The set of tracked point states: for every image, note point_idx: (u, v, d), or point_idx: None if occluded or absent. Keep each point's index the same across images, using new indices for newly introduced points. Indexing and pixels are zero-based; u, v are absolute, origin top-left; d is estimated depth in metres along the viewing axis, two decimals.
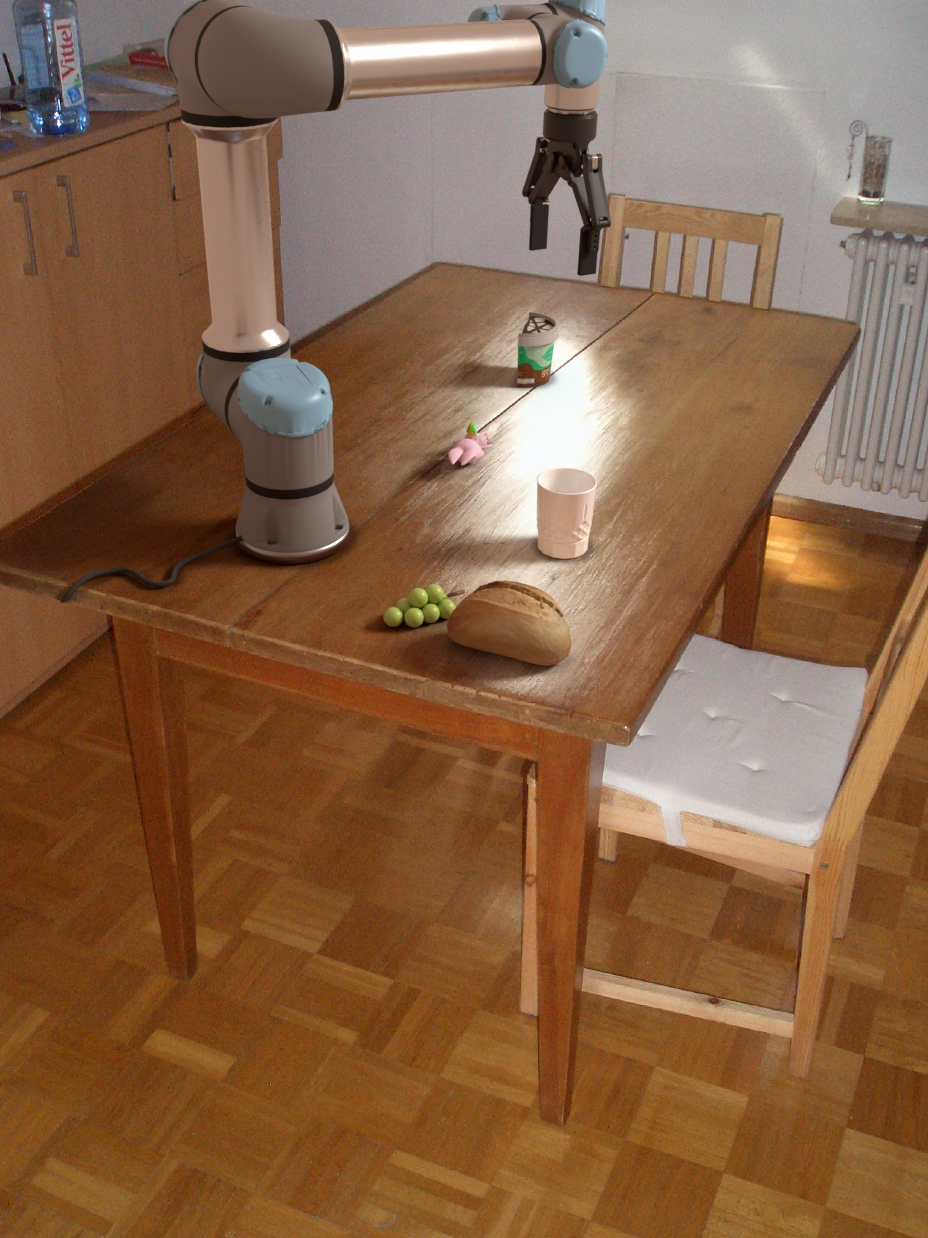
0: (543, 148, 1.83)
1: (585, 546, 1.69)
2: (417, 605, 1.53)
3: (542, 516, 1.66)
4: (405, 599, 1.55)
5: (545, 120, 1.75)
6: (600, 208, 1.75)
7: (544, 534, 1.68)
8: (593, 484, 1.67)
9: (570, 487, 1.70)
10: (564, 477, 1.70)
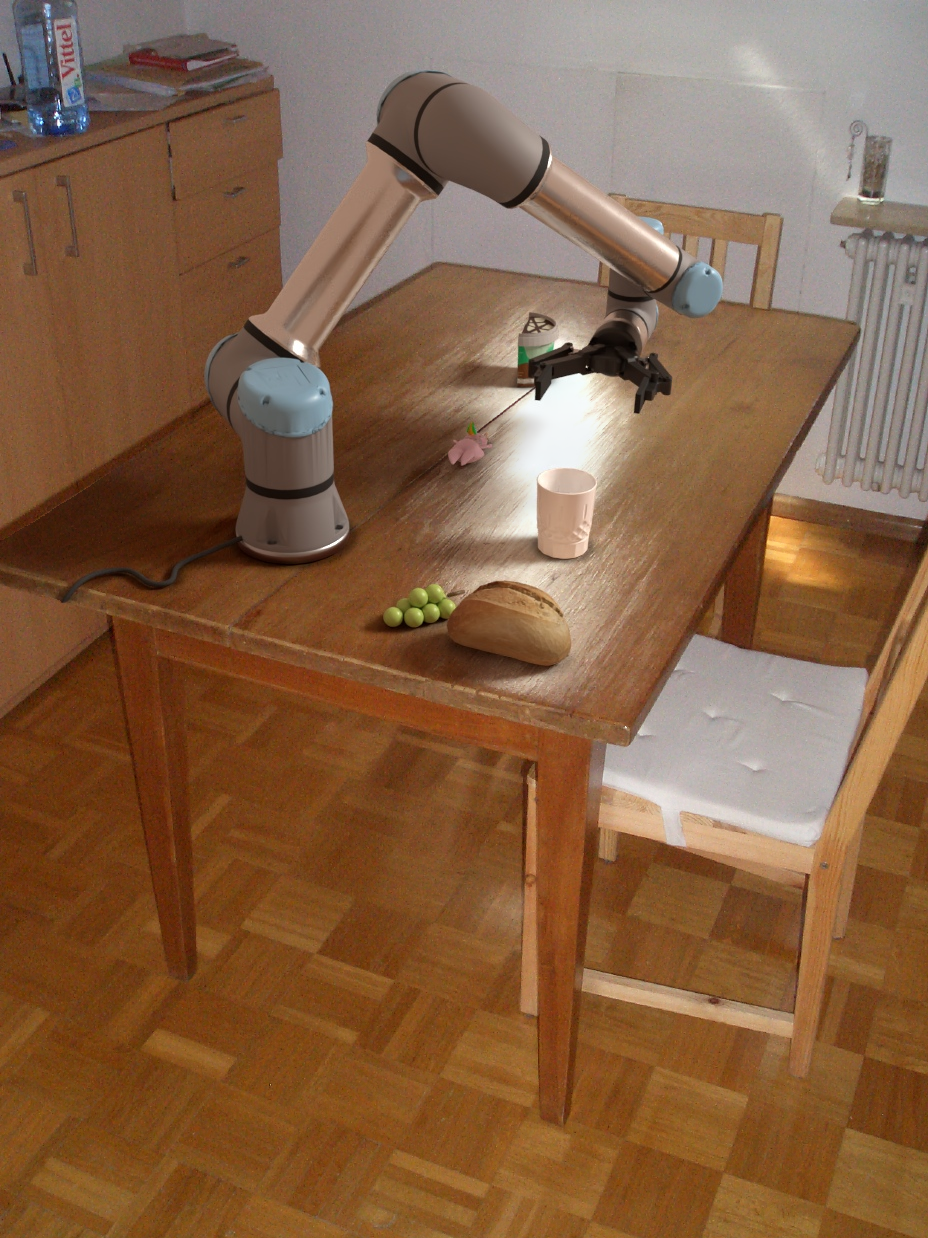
0: (573, 348, 1.83)
1: (585, 546, 1.69)
2: (417, 605, 1.53)
3: (542, 516, 1.66)
4: (405, 599, 1.55)
5: (613, 322, 1.84)
6: None
7: (544, 534, 1.68)
8: (593, 484, 1.67)
9: (570, 487, 1.70)
10: (564, 477, 1.70)
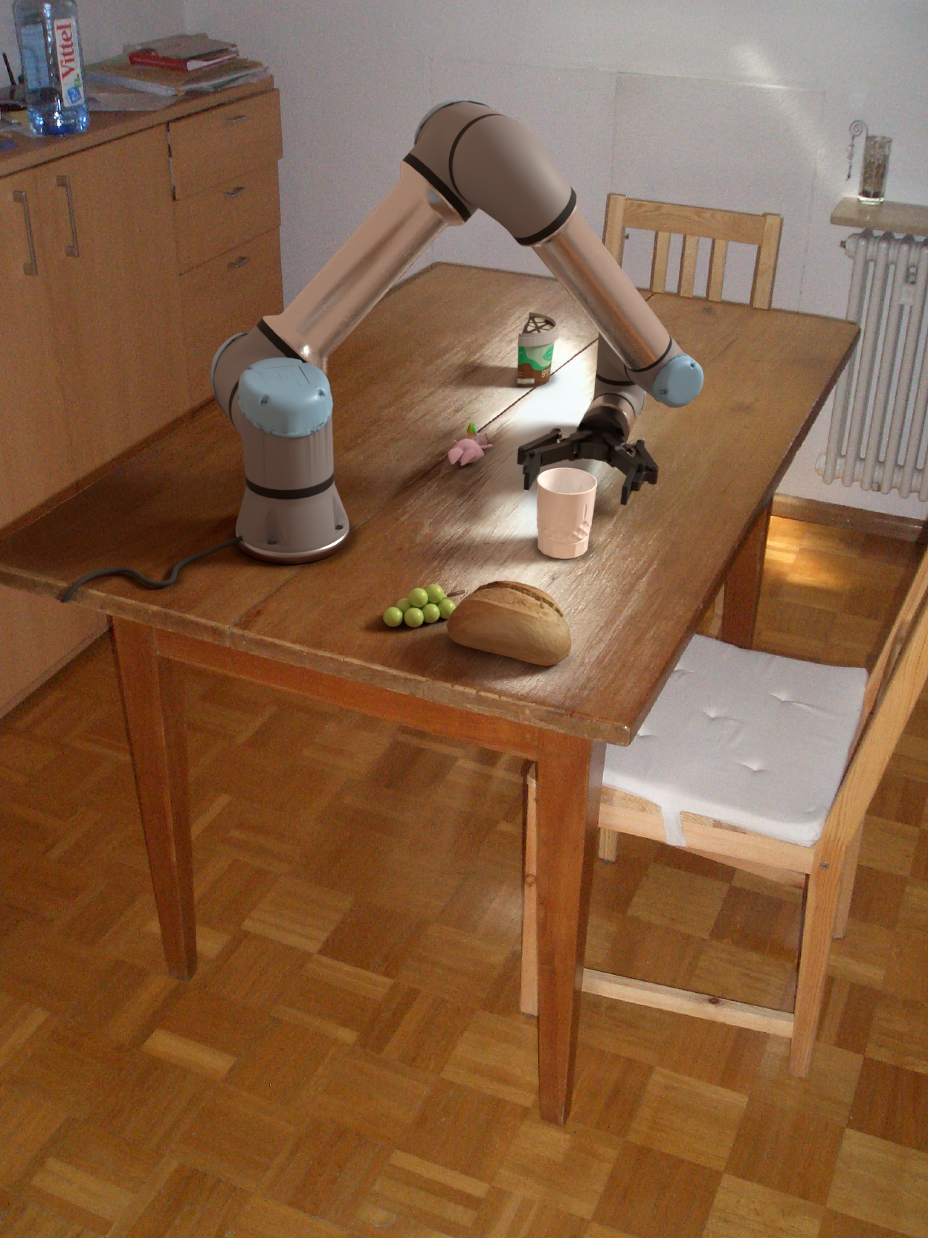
0: None
1: (585, 546, 1.69)
2: (417, 605, 1.53)
3: (542, 516, 1.66)
4: (405, 599, 1.55)
5: (601, 408, 1.87)
6: None
7: (544, 534, 1.68)
8: (593, 484, 1.67)
9: (570, 487, 1.70)
10: (564, 477, 1.70)
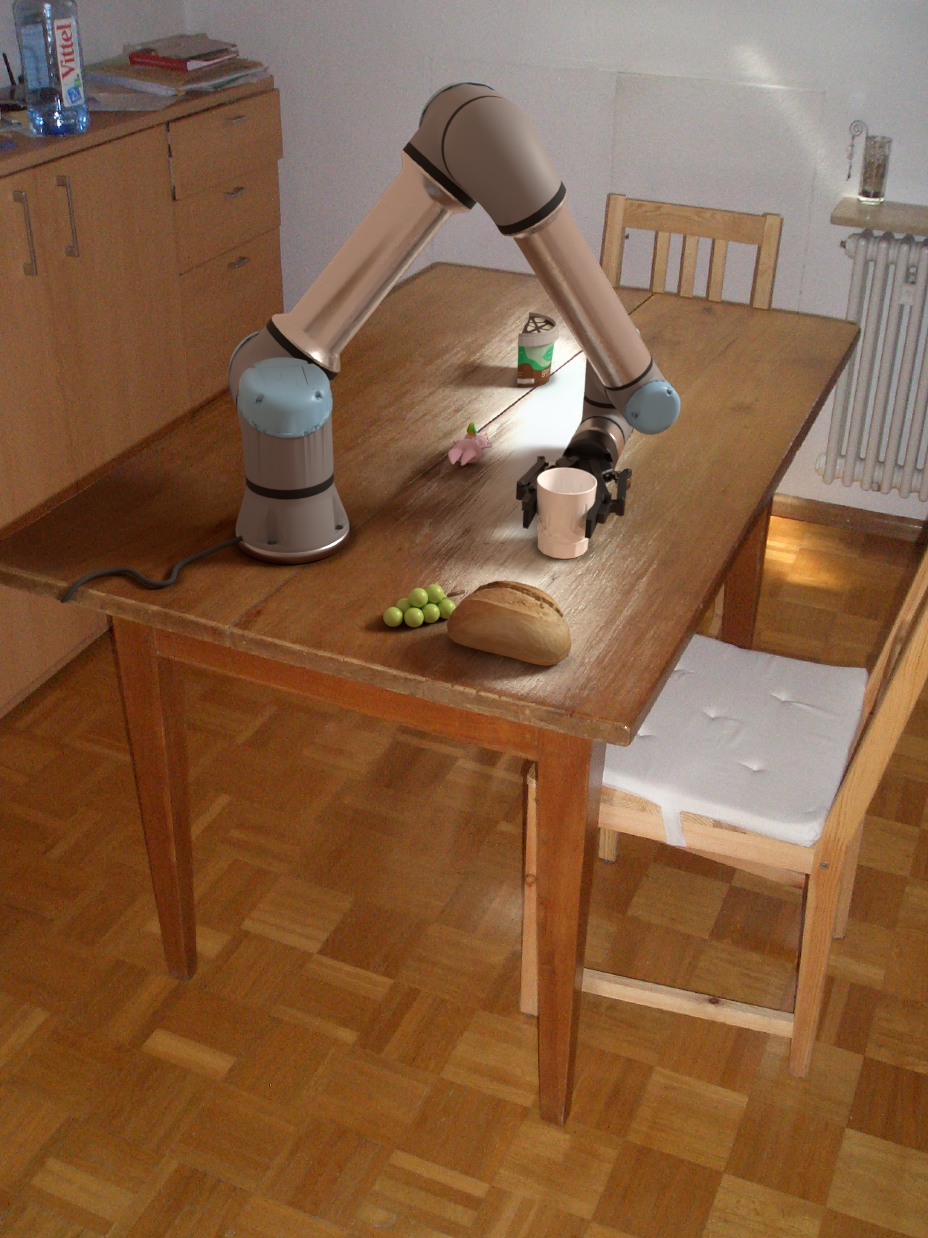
0: None
1: (585, 546, 1.69)
2: (417, 605, 1.53)
3: (542, 516, 1.66)
4: (405, 599, 1.55)
5: (588, 432, 1.80)
6: None
7: (544, 534, 1.68)
8: (593, 484, 1.67)
9: (570, 487, 1.70)
10: (564, 477, 1.70)
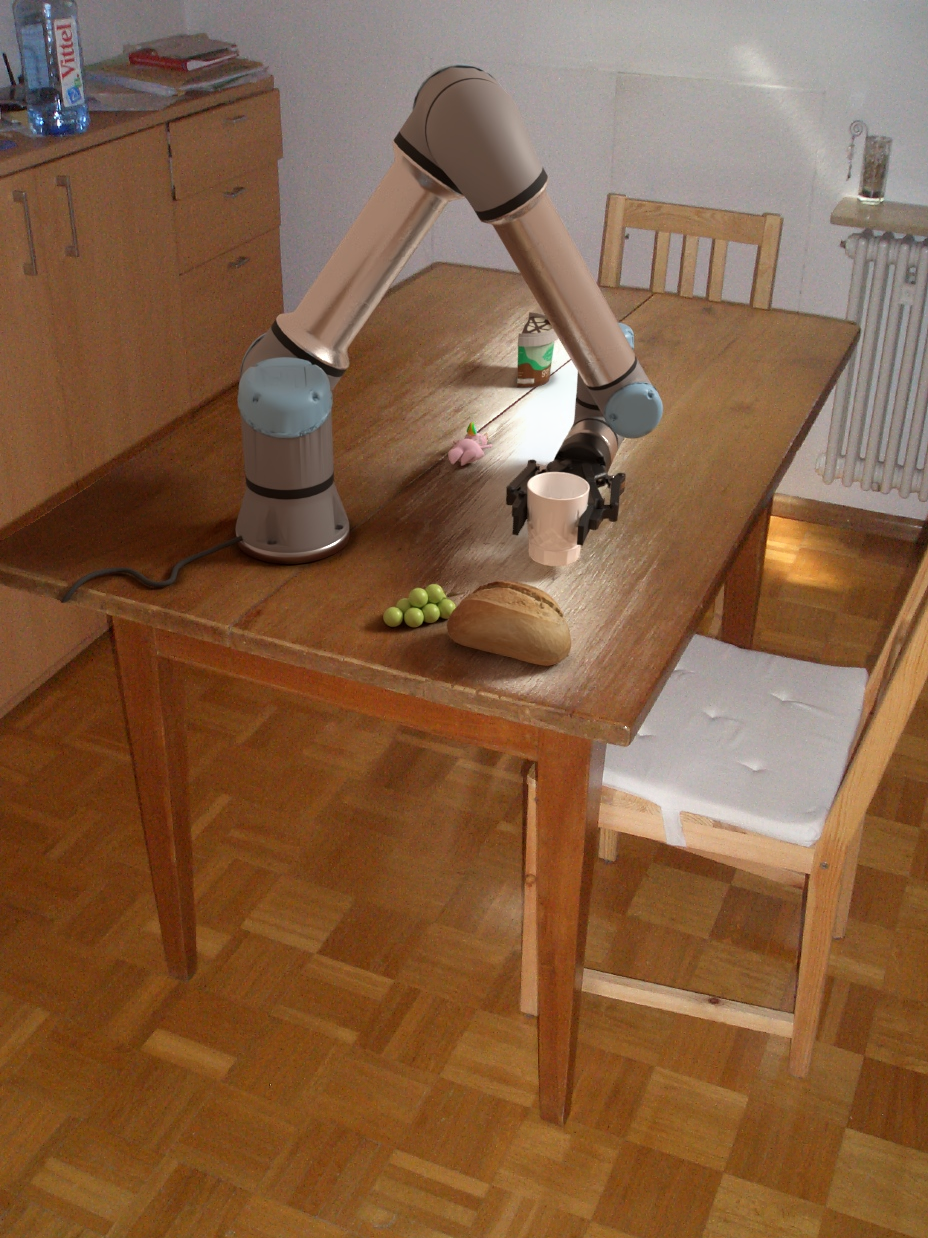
0: None
1: (577, 553, 1.64)
2: (417, 605, 1.53)
3: (533, 522, 1.61)
4: (405, 599, 1.55)
5: (581, 435, 1.74)
6: None
7: (535, 541, 1.62)
8: (585, 489, 1.61)
9: (562, 492, 1.65)
10: (555, 482, 1.64)
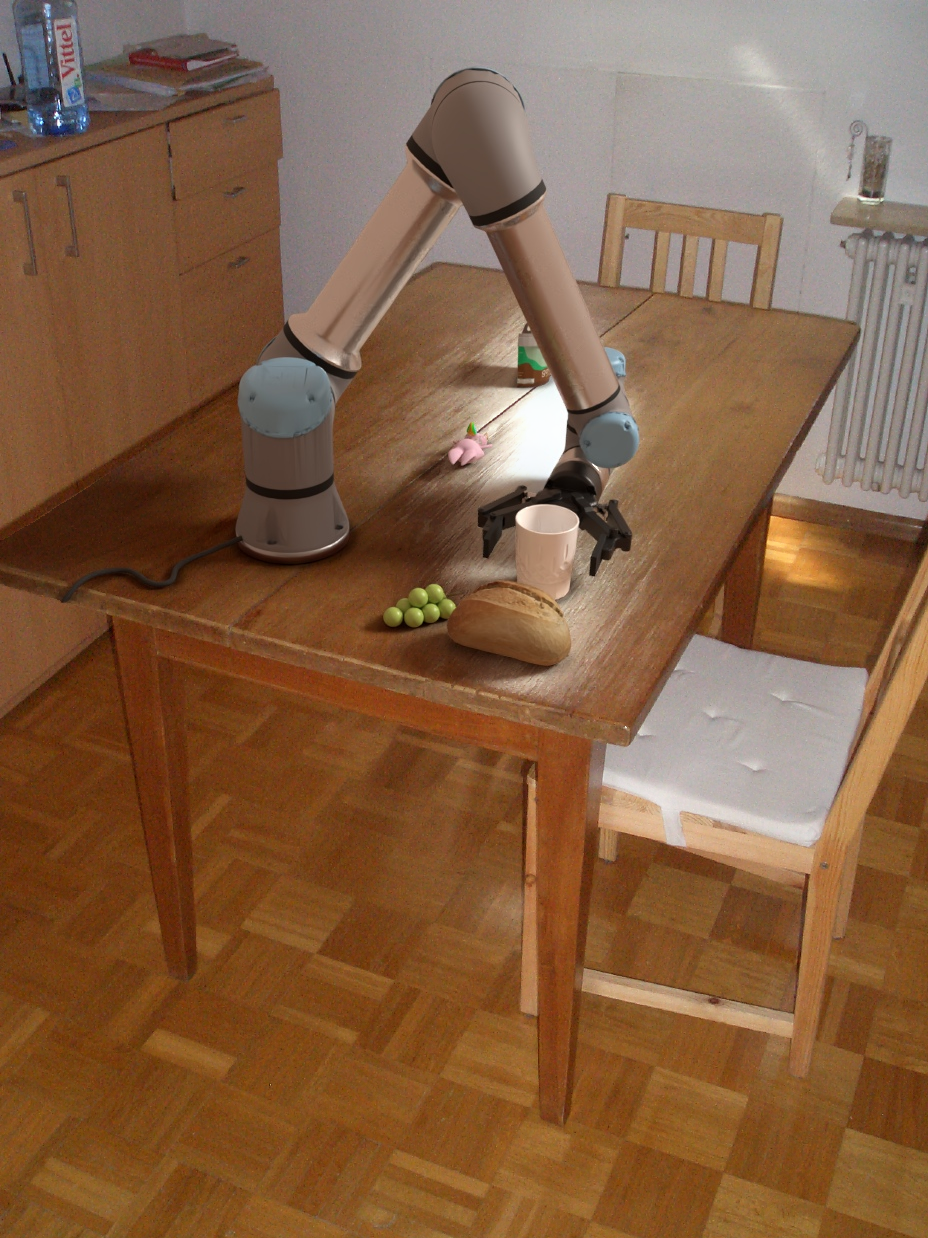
0: (527, 492, 1.69)
1: (567, 587, 1.60)
2: (417, 605, 1.53)
3: (521, 556, 1.57)
4: (405, 599, 1.55)
5: (571, 464, 1.70)
6: None
7: (523, 575, 1.58)
8: (575, 522, 1.58)
9: (551, 525, 1.61)
10: (544, 514, 1.60)
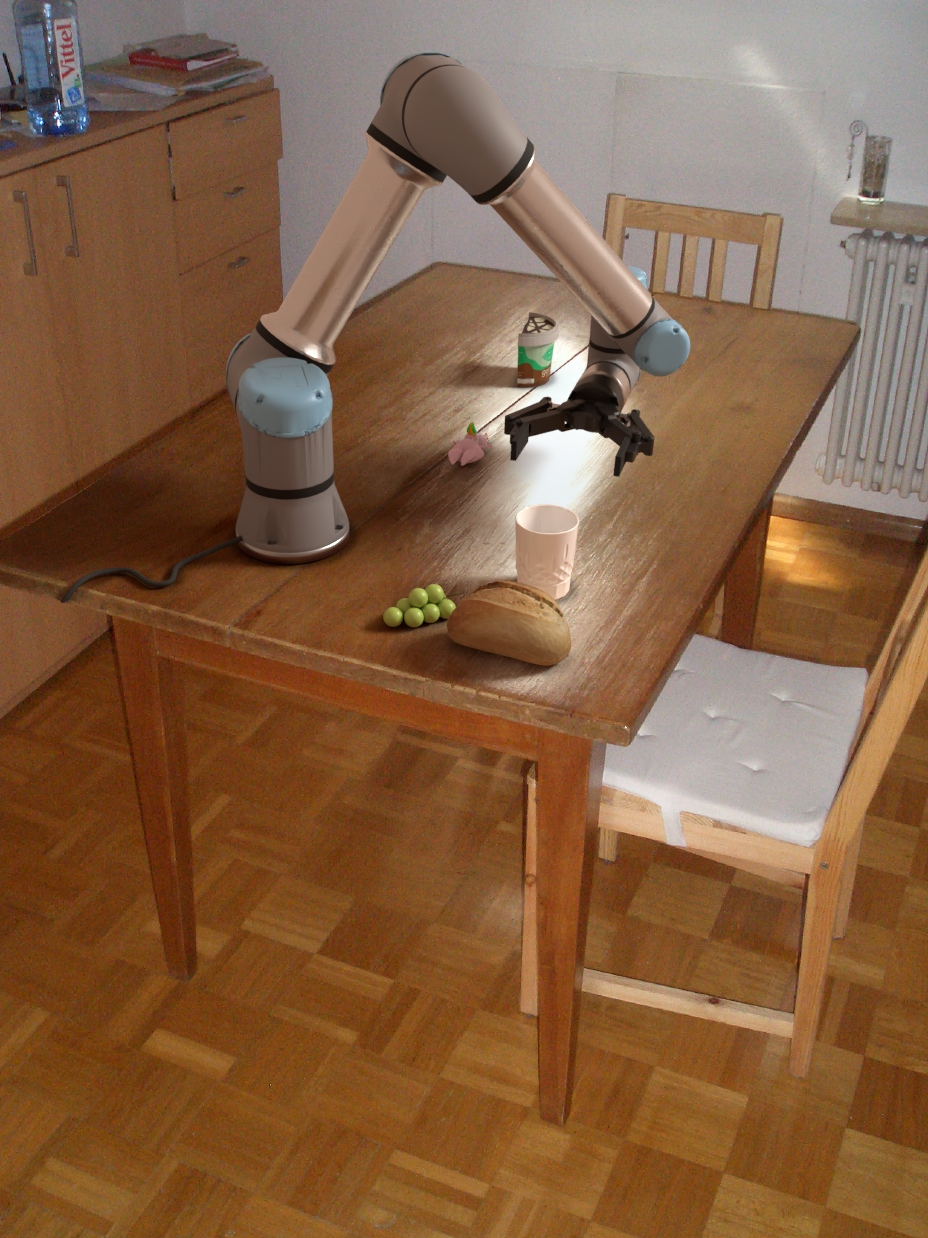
0: (551, 403, 1.75)
1: (567, 587, 1.60)
2: (417, 605, 1.53)
3: (521, 556, 1.57)
4: (405, 599, 1.55)
5: (594, 376, 1.76)
6: None
7: (523, 575, 1.58)
8: (575, 522, 1.58)
9: (551, 525, 1.61)
10: (544, 514, 1.60)
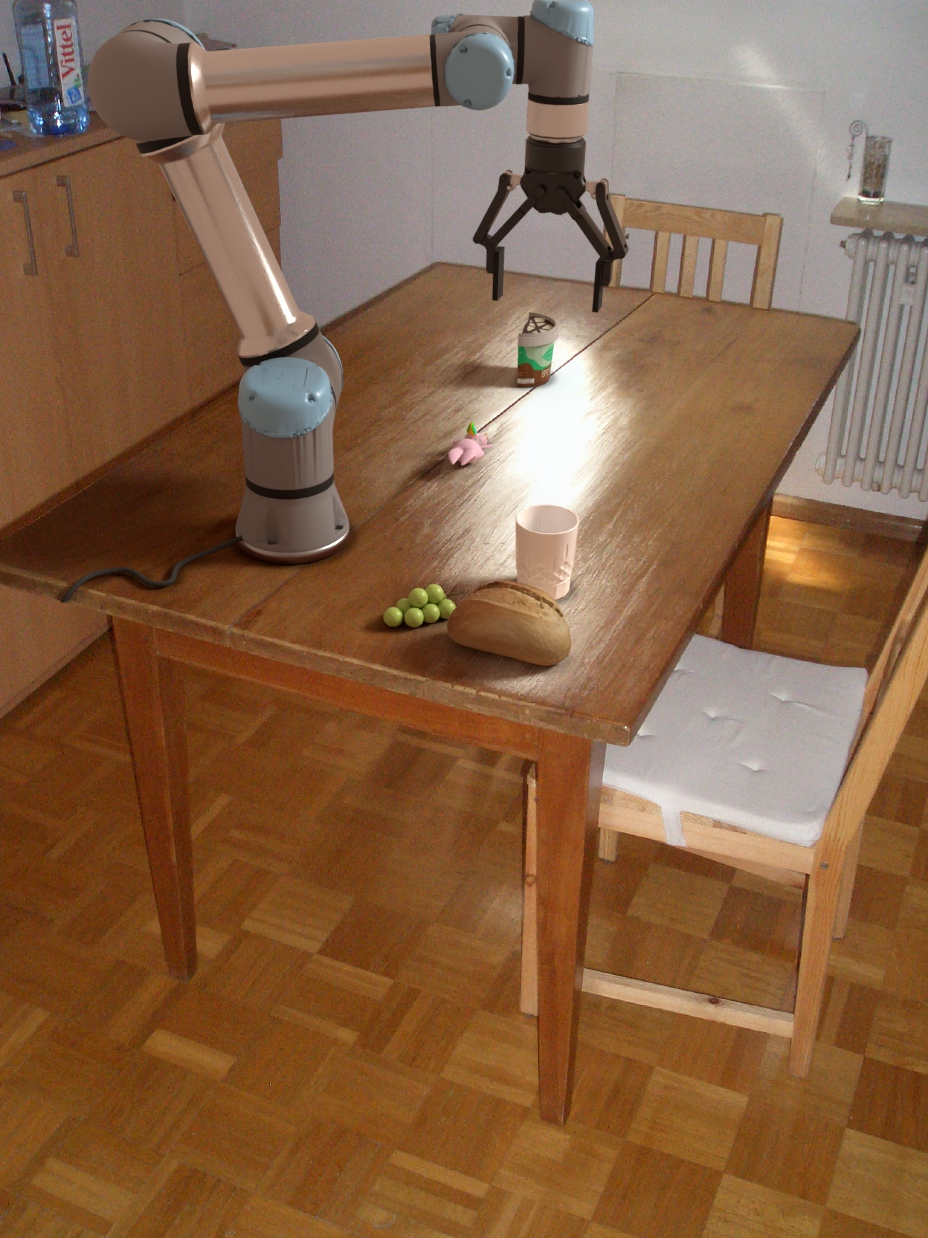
0: (510, 185, 1.61)
1: (567, 587, 1.60)
2: (417, 605, 1.53)
3: (521, 556, 1.57)
4: (405, 599, 1.55)
5: (543, 153, 1.55)
6: (621, 236, 1.61)
7: (523, 575, 1.58)
8: (575, 522, 1.58)
9: (551, 525, 1.61)
10: (544, 514, 1.60)
